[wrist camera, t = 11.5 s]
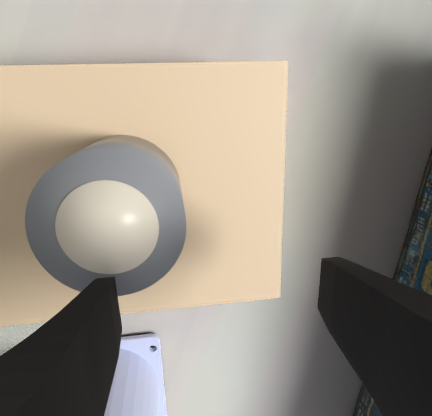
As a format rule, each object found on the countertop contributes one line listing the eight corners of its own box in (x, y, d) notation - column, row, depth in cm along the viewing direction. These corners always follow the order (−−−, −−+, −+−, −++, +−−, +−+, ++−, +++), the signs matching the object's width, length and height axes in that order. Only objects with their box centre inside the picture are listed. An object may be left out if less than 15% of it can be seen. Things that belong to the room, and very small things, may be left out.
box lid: (277, 292, 19) (280, 297, 18) (-12, 322, 17) (-17, 328, 17) (284, 62, 15) (288, 61, 15) (-83, 68, 13) (-92, 66, 13)
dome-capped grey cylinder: (180, 239, 17) (185, 295, 12) (73, 240, 16) (33, 300, 11) (181, 136, 15) (188, 152, 10) (64, 133, 14) (13, 148, 10)
